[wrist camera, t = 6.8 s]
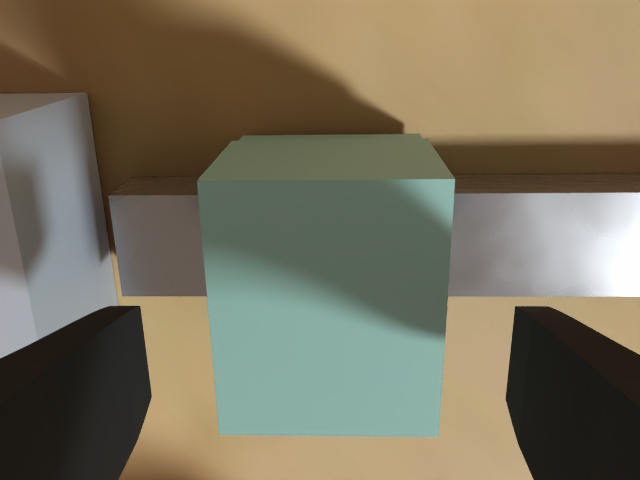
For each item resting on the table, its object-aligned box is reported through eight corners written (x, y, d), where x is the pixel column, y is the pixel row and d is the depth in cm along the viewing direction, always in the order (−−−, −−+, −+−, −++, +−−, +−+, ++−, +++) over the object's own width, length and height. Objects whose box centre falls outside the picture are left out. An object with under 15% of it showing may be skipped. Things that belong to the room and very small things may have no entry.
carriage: (411, 317, 19) (438, 436, 14) (253, 317, 19) (219, 434, 14) (419, 126, 17) (455, 179, 12) (242, 128, 17) (196, 181, 12)
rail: (857, 267, 19) (915, 296, 17) (143, 268, 19) (122, 296, 18) (888, 171, 18) (953, 190, 16) (131, 177, 18) (108, 195, 16)
